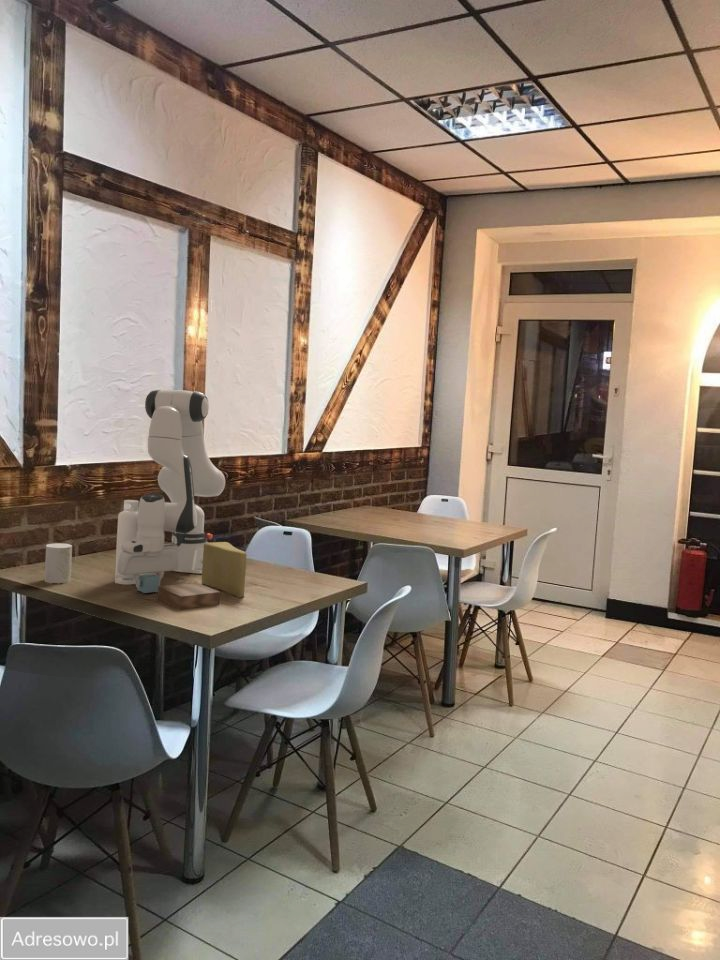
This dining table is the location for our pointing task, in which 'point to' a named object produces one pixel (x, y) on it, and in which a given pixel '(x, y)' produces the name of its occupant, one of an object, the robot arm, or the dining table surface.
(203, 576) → the cheese
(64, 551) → the cup
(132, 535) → the bottle
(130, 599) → the dining table surface
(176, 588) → the riser
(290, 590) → the dining table surface
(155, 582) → the cube
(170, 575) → the dining table surface
